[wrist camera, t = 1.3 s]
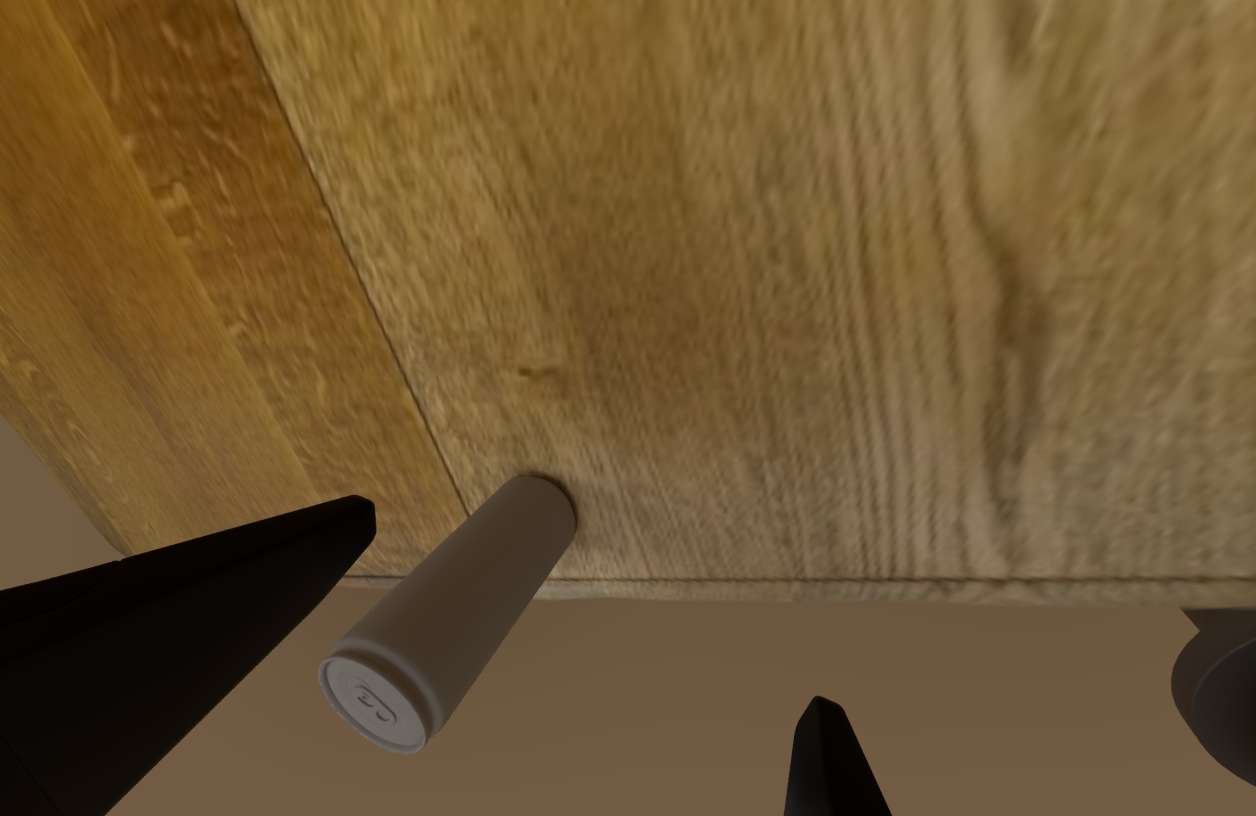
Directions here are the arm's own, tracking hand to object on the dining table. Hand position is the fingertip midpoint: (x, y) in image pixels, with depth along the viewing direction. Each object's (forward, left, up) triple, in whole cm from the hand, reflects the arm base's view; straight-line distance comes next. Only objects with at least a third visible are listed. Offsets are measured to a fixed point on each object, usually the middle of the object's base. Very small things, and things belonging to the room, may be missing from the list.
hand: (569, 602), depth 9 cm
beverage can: (-5, +12, -13) cm, 18 cm away
